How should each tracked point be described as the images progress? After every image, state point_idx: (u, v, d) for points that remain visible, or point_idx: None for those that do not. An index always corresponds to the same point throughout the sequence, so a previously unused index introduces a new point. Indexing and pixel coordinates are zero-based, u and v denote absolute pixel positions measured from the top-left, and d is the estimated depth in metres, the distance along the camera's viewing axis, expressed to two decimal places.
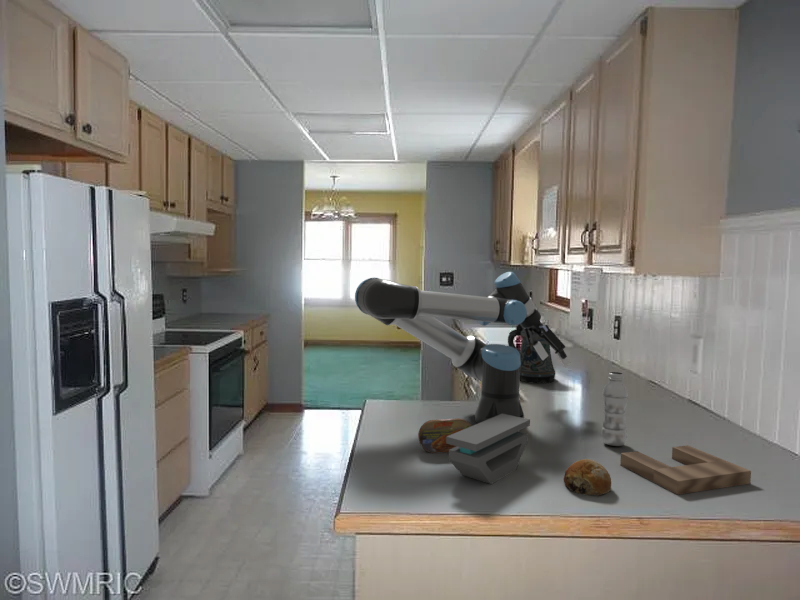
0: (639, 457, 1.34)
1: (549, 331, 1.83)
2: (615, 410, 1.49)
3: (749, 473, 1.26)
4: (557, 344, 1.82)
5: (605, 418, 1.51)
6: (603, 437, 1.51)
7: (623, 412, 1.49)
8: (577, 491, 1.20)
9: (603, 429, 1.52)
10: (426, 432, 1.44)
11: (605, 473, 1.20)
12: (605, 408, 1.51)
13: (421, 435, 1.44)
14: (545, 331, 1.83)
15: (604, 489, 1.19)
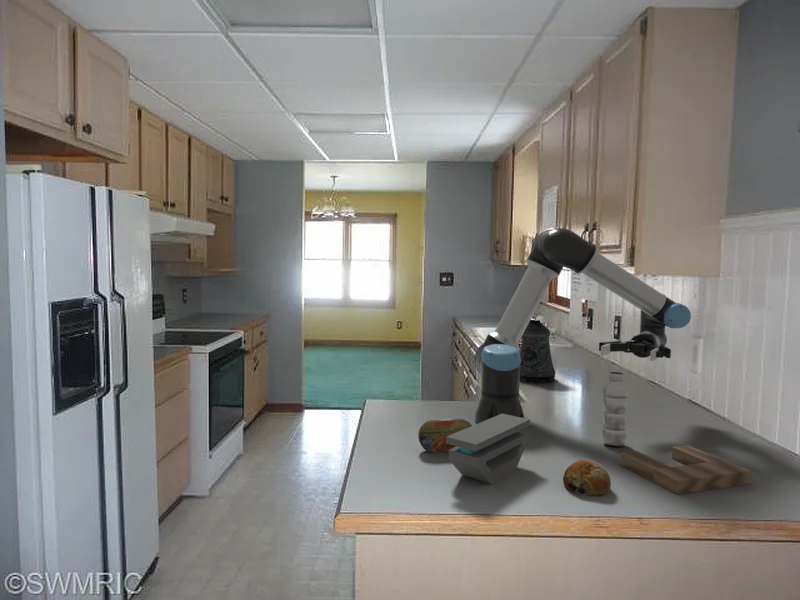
0: (639, 457, 1.34)
1: None
2: (615, 410, 1.49)
3: (749, 473, 1.26)
4: None
5: (605, 418, 1.51)
6: (603, 437, 1.51)
7: (623, 412, 1.49)
8: (576, 491, 1.20)
9: (603, 429, 1.52)
10: (426, 432, 1.44)
11: (604, 473, 1.20)
12: (605, 408, 1.51)
13: (421, 435, 1.44)
14: None
15: (603, 489, 1.19)
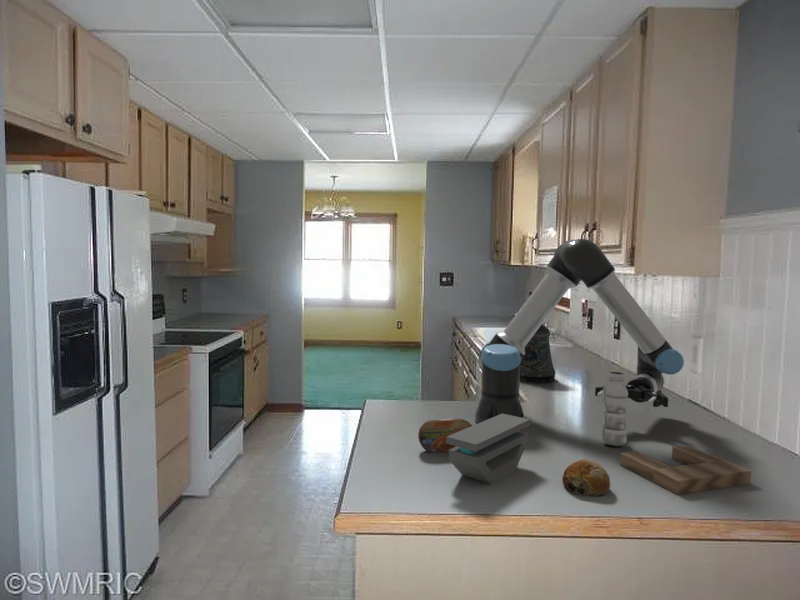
0: (639, 457, 1.34)
1: None
2: (615, 410, 1.49)
3: (749, 473, 1.26)
4: None
5: (605, 418, 1.51)
6: (603, 437, 1.51)
7: (623, 412, 1.49)
8: (576, 491, 1.20)
9: (603, 429, 1.52)
10: (426, 432, 1.44)
11: (604, 473, 1.20)
12: (605, 408, 1.51)
13: (421, 435, 1.44)
14: None
15: (603, 489, 1.19)
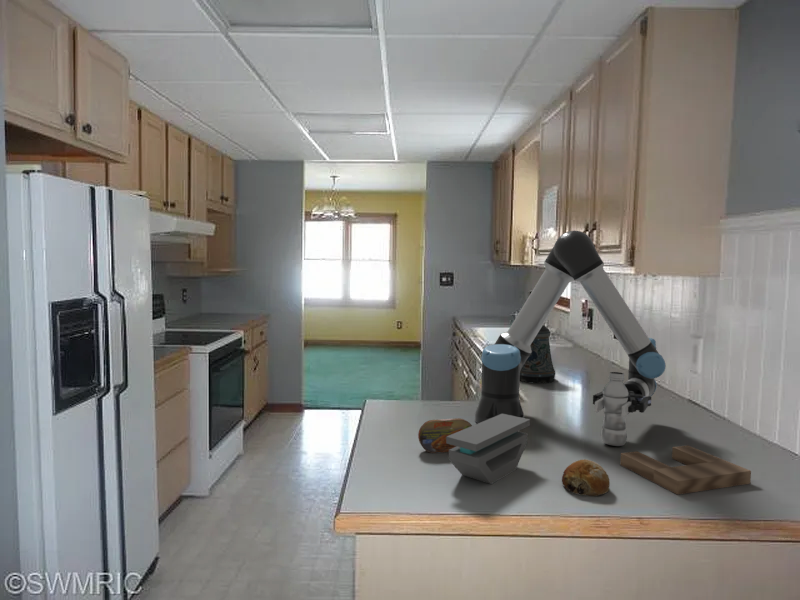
0: (639, 457, 1.34)
1: (647, 404, 1.55)
2: (615, 410, 1.49)
3: (749, 473, 1.26)
4: (645, 404, 1.51)
5: (605, 418, 1.51)
6: (603, 437, 1.51)
7: None
8: (575, 492, 1.20)
9: (603, 429, 1.52)
10: (426, 432, 1.44)
11: (603, 473, 1.20)
12: (605, 408, 1.51)
13: (421, 435, 1.44)
14: (649, 399, 1.56)
15: (602, 490, 1.19)
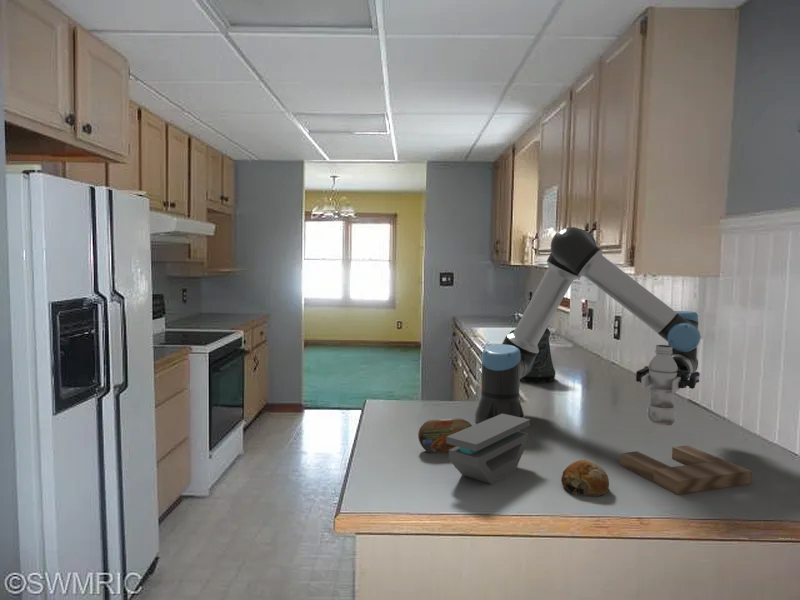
0: (639, 457, 1.34)
1: (696, 380, 1.43)
2: (664, 386, 1.36)
3: (749, 473, 1.26)
4: None
5: (652, 395, 1.38)
6: (650, 416, 1.38)
7: None
8: (575, 492, 1.20)
9: (650, 407, 1.39)
10: (426, 432, 1.44)
11: (603, 474, 1.20)
12: (652, 384, 1.38)
13: (421, 435, 1.44)
14: (697, 375, 1.43)
15: (602, 490, 1.19)
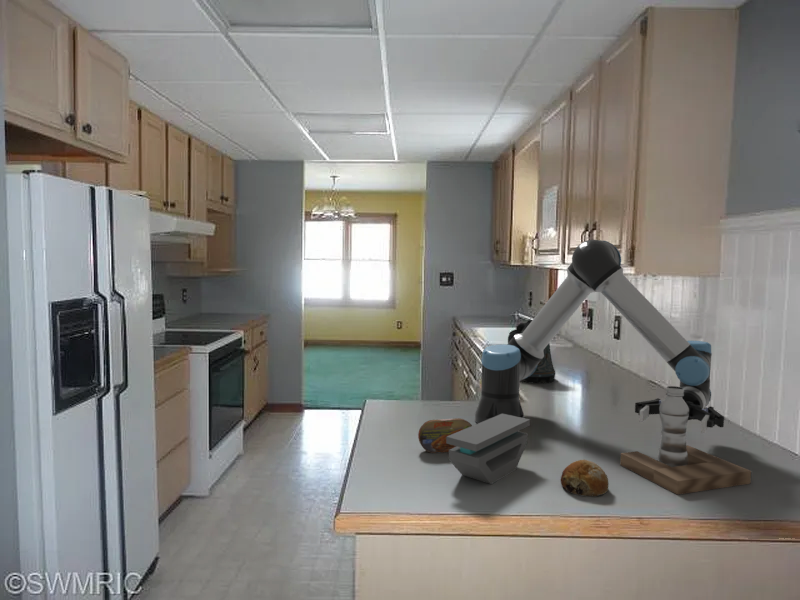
0: (639, 457, 1.34)
1: None
2: (675, 430, 1.32)
3: (749, 473, 1.26)
4: None
5: (663, 438, 1.34)
6: (661, 460, 1.34)
7: (684, 432, 1.32)
8: (574, 492, 1.20)
9: (661, 451, 1.35)
10: (426, 432, 1.44)
11: (602, 474, 1.20)
12: (663, 427, 1.34)
13: (421, 435, 1.44)
14: None
15: (601, 490, 1.19)
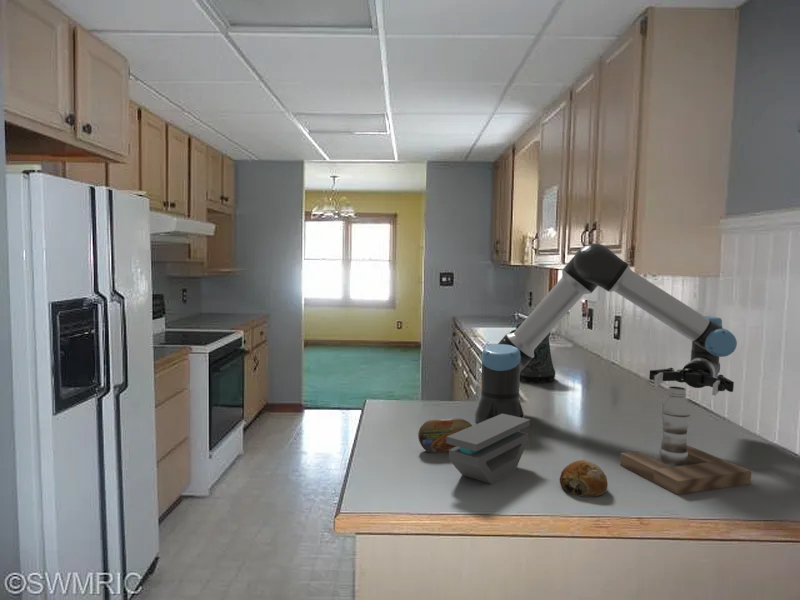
0: (639, 457, 1.34)
1: None
2: (676, 430, 1.32)
3: (749, 473, 1.26)
4: None
5: (664, 439, 1.34)
6: (661, 460, 1.34)
7: (685, 432, 1.32)
8: (573, 492, 1.20)
9: (661, 451, 1.35)
10: (426, 432, 1.44)
11: (601, 474, 1.20)
12: (664, 427, 1.34)
13: (421, 435, 1.44)
14: None
15: (600, 490, 1.18)
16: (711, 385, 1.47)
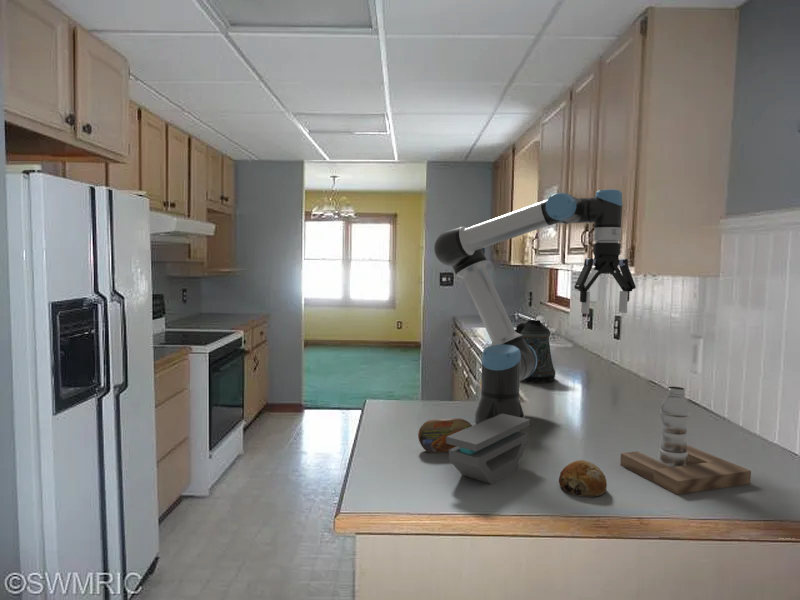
0: (639, 457, 1.34)
1: (587, 266, 1.63)
2: (676, 431, 1.32)
3: (749, 473, 1.26)
4: (578, 281, 1.64)
5: (664, 439, 1.34)
6: (661, 460, 1.34)
7: (685, 432, 1.32)
8: (572, 492, 1.20)
9: (661, 451, 1.34)
10: (426, 432, 1.44)
11: (600, 474, 1.20)
12: (664, 428, 1.34)
13: (421, 435, 1.44)
14: (585, 263, 1.64)
15: (599, 490, 1.18)
16: None
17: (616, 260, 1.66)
